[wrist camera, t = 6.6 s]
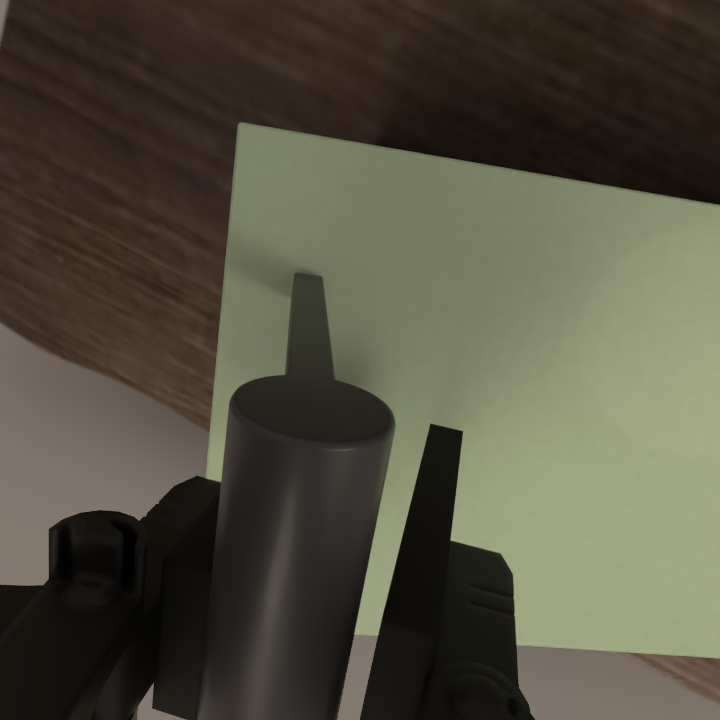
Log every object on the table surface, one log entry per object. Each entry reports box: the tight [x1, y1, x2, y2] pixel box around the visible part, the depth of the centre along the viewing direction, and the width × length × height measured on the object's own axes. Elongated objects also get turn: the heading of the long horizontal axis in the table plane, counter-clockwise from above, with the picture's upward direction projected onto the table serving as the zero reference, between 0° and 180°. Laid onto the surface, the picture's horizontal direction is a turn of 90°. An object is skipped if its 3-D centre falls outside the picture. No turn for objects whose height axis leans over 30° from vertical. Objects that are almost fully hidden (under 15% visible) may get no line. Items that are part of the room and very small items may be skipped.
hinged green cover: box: [197, 122, 720, 720], centre depth 13 cm, size 19×14×10 cm
